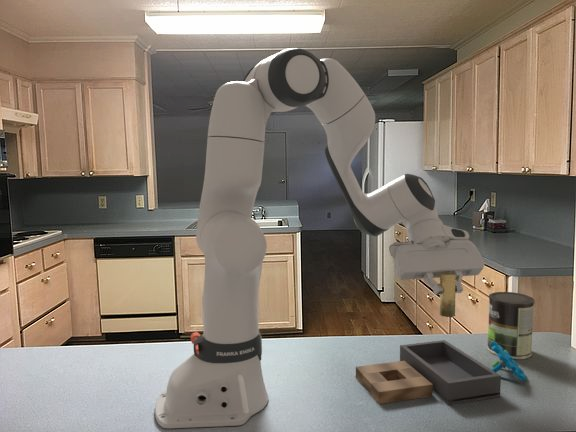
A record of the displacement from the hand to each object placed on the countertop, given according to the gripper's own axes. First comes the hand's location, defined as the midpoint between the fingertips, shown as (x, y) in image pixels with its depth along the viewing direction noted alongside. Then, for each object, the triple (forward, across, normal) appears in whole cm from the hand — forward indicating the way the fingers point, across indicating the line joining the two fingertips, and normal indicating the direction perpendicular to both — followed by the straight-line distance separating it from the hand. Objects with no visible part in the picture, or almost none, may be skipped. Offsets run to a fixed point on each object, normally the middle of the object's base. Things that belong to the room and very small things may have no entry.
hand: (449, 292), depth 98 cm
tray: (+14, 0, +14) cm, 20 cm away
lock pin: (+3, 0, +4) cm, 5 cm away
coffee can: (+6, +23, +22) cm, 33 cm away
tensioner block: (+14, -13, +14) cm, 24 cm away
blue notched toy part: (+14, +14, +14) cm, 25 cm away
